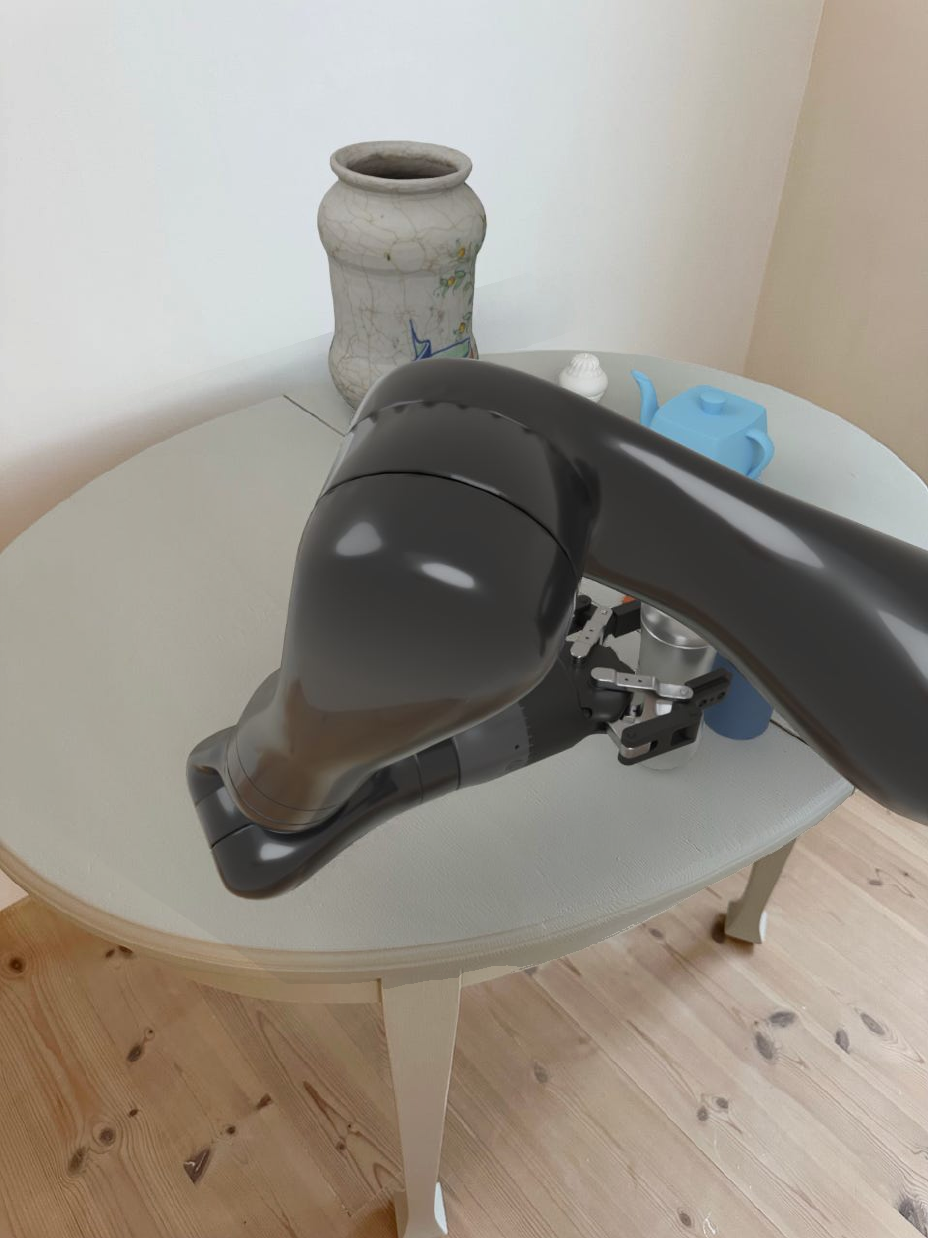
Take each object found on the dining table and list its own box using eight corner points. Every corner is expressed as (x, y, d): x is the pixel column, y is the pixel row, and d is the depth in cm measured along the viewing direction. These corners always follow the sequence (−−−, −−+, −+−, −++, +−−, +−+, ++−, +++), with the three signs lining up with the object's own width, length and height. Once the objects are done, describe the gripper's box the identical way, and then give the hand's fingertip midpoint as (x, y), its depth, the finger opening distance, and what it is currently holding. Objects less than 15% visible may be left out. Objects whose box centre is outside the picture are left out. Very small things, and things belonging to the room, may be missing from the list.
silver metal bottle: (613, 774, 74) (650, 570, 61) (617, 713, 79) (651, 512, 66) (697, 786, 73) (752, 581, 61) (696, 723, 79) (746, 522, 66)
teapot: (649, 436, 114) (664, 345, 107) (784, 494, 105) (811, 399, 98) (586, 475, 107) (597, 381, 100) (725, 541, 98) (748, 443, 91)
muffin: (580, 390, 123) (585, 338, 119) (615, 408, 120) (622, 355, 115) (545, 404, 120) (549, 351, 116) (579, 423, 117) (585, 369, 112)
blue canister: (777, 707, 80) (804, 626, 74) (755, 750, 76) (781, 668, 71) (714, 682, 82) (735, 601, 76) (690, 722, 79) (709, 640, 73)
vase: (507, 410, 119) (521, 150, 99) (427, 474, 107) (425, 193, 88) (389, 373, 126) (380, 124, 106) (302, 430, 114) (274, 161, 95)
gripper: (557, 750, 57) (767, 664, 62) (447, 613, 66) (638, 549, 72) (548, 829, 61) (744, 742, 67) (447, 690, 71) (626, 625, 77)
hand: (689, 643), depth 70 cm, fingers open, 8 cm apart
